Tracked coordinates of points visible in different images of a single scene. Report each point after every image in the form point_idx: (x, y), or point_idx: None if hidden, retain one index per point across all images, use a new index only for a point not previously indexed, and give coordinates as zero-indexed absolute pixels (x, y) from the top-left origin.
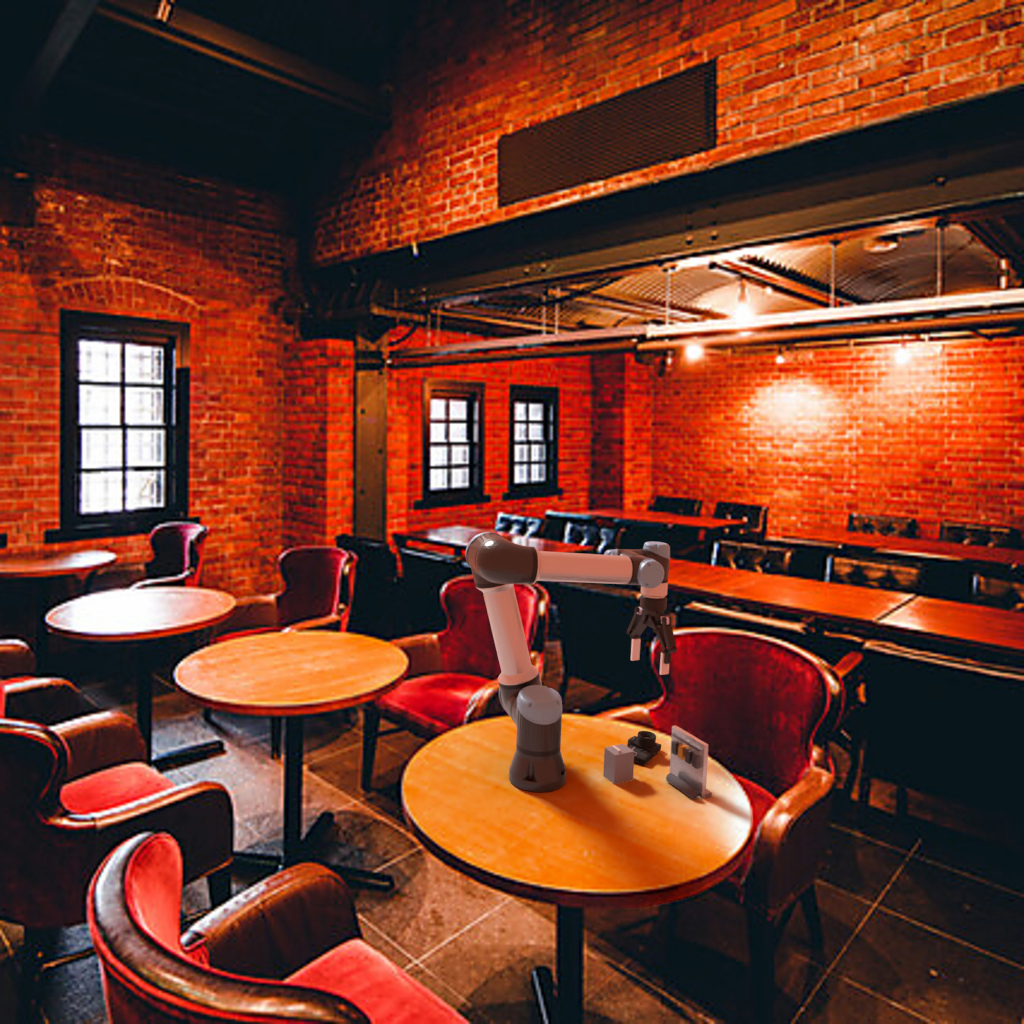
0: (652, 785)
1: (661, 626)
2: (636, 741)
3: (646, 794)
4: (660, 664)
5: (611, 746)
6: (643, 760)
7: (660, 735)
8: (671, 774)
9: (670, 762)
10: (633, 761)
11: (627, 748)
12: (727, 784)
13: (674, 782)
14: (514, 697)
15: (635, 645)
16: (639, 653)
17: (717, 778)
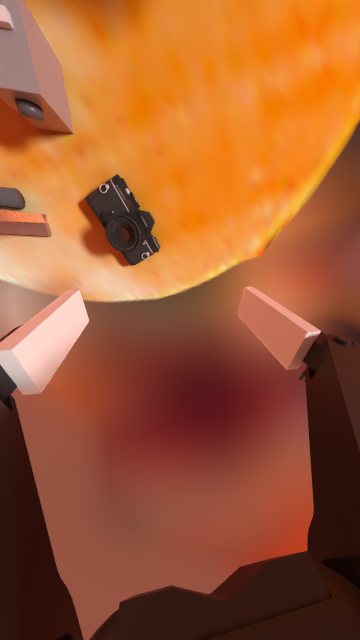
0: (9, 153)
1: None
2: (135, 220)
3: None
4: (55, 307)
5: (21, 24)
6: (87, 196)
7: (173, 293)
8: (5, 194)
9: (30, 213)
10: (5, 102)
11: (4, 77)
12: (11, 279)
13: None
14: None
15: (275, 326)
16: (247, 325)
17: (32, 279)
